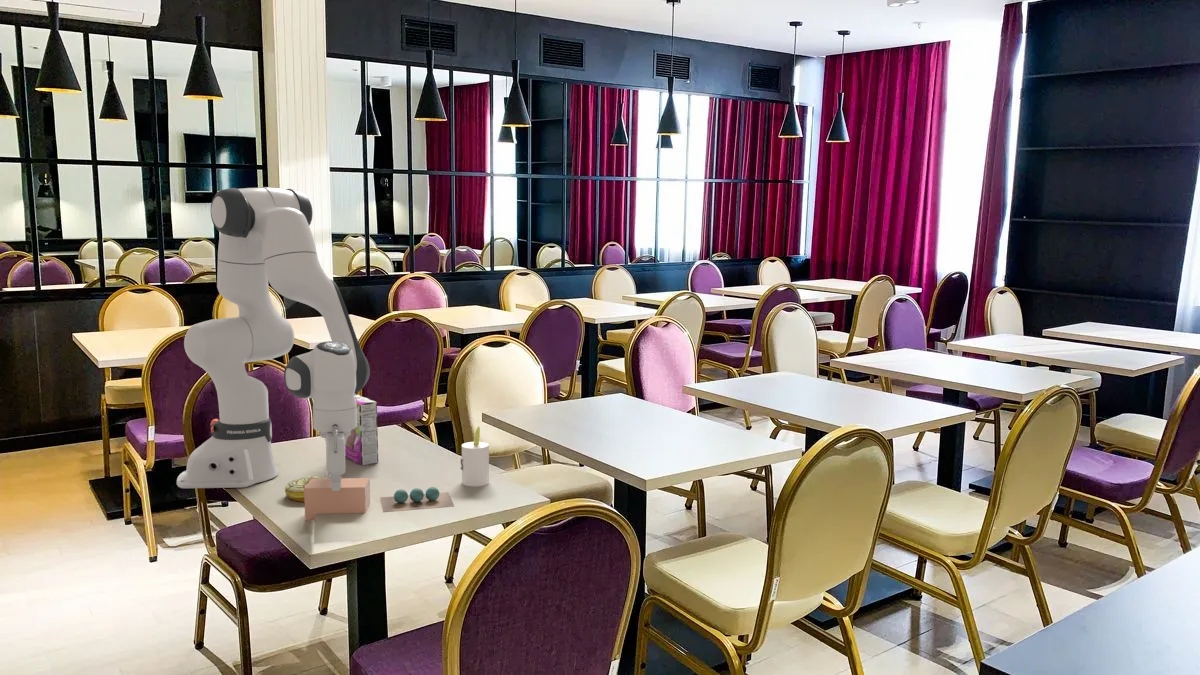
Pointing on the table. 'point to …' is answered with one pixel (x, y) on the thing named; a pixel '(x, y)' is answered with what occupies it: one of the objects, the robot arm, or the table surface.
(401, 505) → the marble board
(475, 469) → the candle
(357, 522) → the table surface
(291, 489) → the decorated donut
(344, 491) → the peach brick
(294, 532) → the table surface
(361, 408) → the candy bar box
